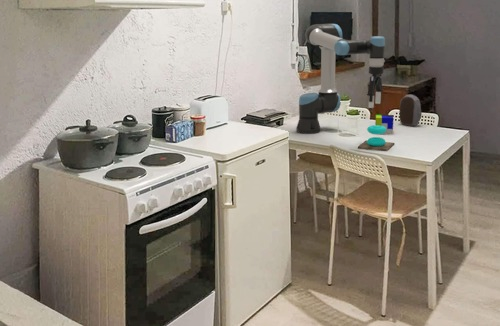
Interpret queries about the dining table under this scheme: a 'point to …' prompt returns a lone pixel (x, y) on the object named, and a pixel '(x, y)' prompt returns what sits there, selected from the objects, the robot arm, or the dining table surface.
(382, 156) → the dining table surface
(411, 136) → the dining table surface
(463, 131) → the dining table surface
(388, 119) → the puzzle toy
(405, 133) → the dining table surface
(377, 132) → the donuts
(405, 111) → the soft grey pack
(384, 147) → the walnut board
